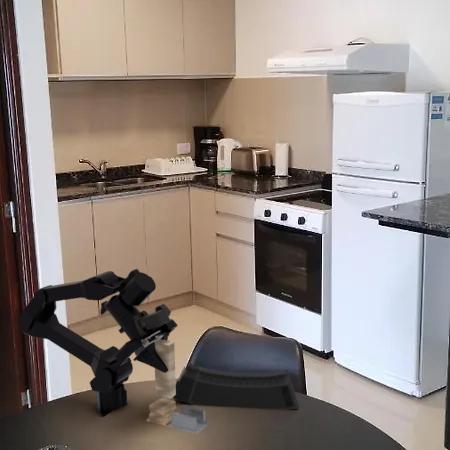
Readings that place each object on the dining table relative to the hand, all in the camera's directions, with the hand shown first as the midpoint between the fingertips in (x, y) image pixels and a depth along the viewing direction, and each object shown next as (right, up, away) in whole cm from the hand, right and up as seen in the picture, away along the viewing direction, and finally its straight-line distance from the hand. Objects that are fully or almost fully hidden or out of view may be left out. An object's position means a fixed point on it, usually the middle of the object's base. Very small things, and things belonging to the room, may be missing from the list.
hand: (170, 369), depth 150 cm
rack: (+4, -14, 0) cm, 14 cm away
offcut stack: (-2, -13, +4) cm, 14 cm away
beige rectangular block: (-1, -6, +2) cm, 7 cm away
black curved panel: (+15, -12, +10) cm, 22 cm away
